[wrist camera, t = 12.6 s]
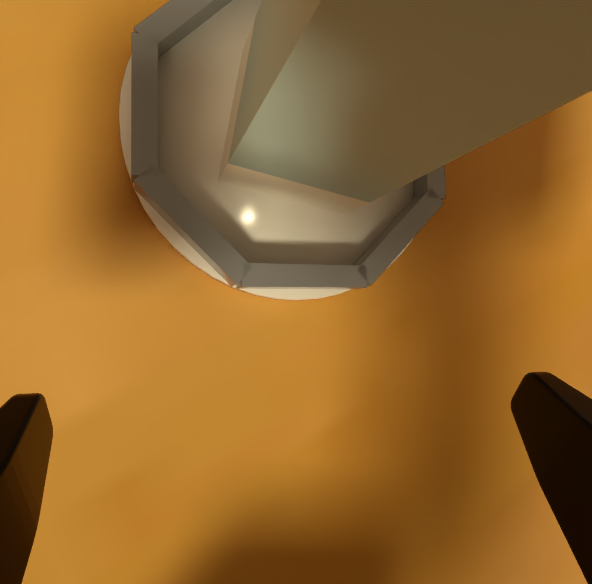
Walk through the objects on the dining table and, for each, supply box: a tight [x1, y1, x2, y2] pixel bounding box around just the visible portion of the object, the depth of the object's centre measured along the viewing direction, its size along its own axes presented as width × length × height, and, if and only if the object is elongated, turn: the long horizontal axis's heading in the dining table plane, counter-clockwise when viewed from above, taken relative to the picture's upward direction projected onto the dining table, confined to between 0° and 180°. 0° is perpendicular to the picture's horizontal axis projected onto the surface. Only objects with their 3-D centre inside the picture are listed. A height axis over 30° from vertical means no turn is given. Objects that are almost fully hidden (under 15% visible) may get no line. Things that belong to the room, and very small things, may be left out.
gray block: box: [218, 0, 592, 215], centre depth 12 cm, size 5×5×12 cm
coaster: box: [119, 0, 446, 300], centre depth 18 cm, size 12×12×2 cm
